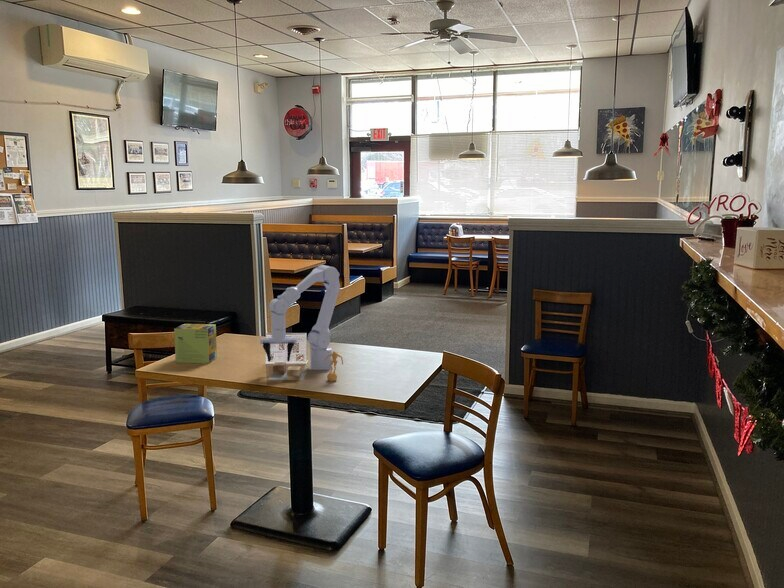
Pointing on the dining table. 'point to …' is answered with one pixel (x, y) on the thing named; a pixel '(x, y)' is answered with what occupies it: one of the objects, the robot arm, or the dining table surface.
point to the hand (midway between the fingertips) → (279, 360)
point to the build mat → (285, 376)
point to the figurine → (332, 375)
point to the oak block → (293, 372)
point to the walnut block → (279, 368)
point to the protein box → (195, 343)
